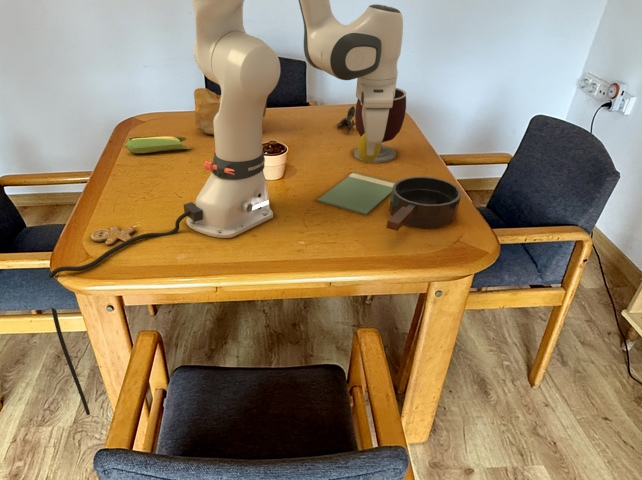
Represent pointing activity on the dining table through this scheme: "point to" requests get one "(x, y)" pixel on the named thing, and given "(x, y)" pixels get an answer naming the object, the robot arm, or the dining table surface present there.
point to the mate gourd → (392, 125)
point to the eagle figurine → (348, 120)
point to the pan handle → (400, 217)
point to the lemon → (362, 150)
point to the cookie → (112, 235)
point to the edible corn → (154, 144)
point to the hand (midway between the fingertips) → (368, 149)
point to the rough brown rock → (207, 109)
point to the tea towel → (358, 193)
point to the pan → (426, 201)
